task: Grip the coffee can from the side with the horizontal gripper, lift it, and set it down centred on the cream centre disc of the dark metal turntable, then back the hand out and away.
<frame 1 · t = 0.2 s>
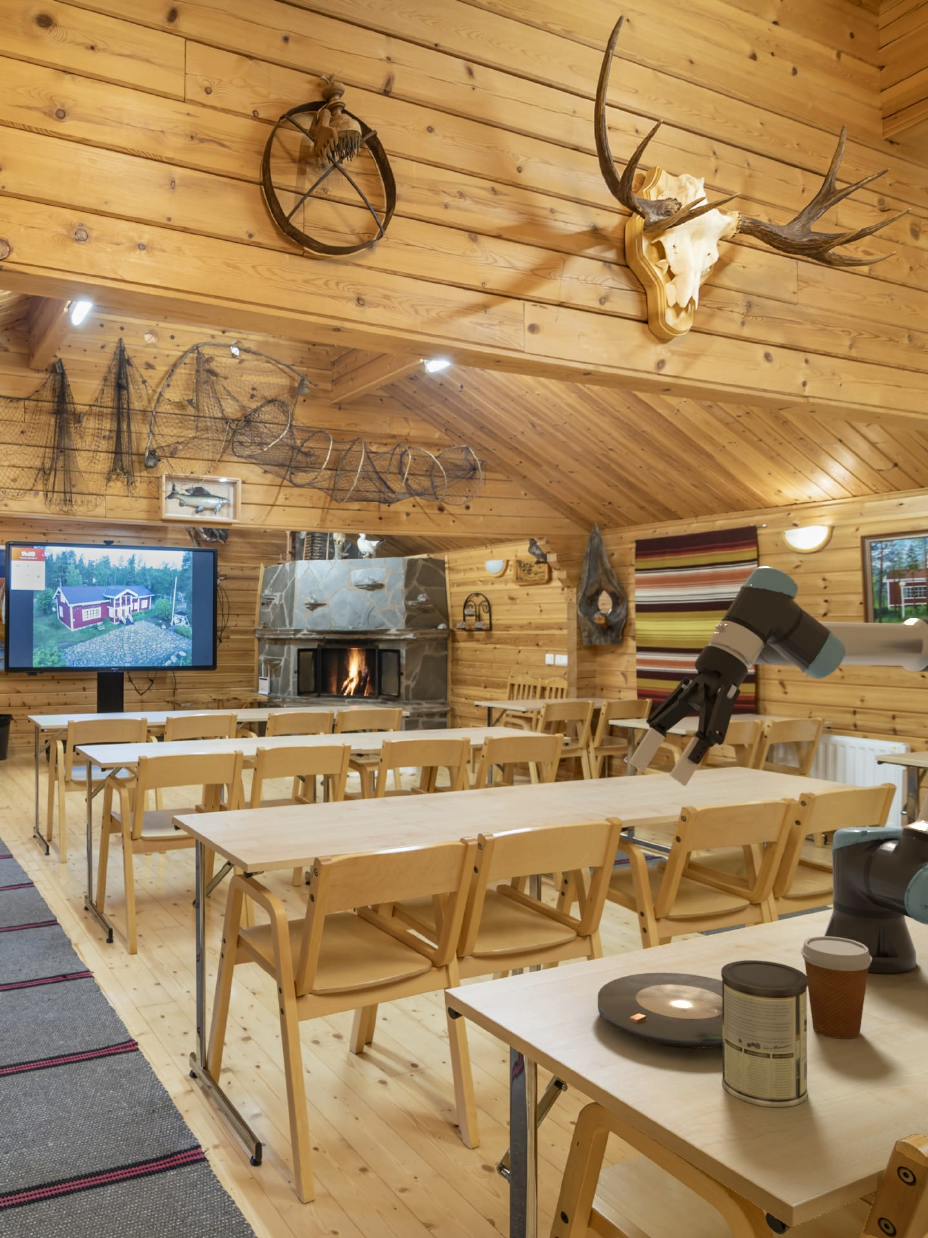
hand: (655, 773, 141), 36 cm above the table, tool tilted 35°, fingers open, 13 cm apart
disposable coffee cup: (836, 1031, 134), on the table
turntable platter: (681, 1004, 136), point 3 cm above the table, hinge at 0.0°
coffee can: (764, 1089, 117), on the table
turntable base: (681, 1024, 136), on the table
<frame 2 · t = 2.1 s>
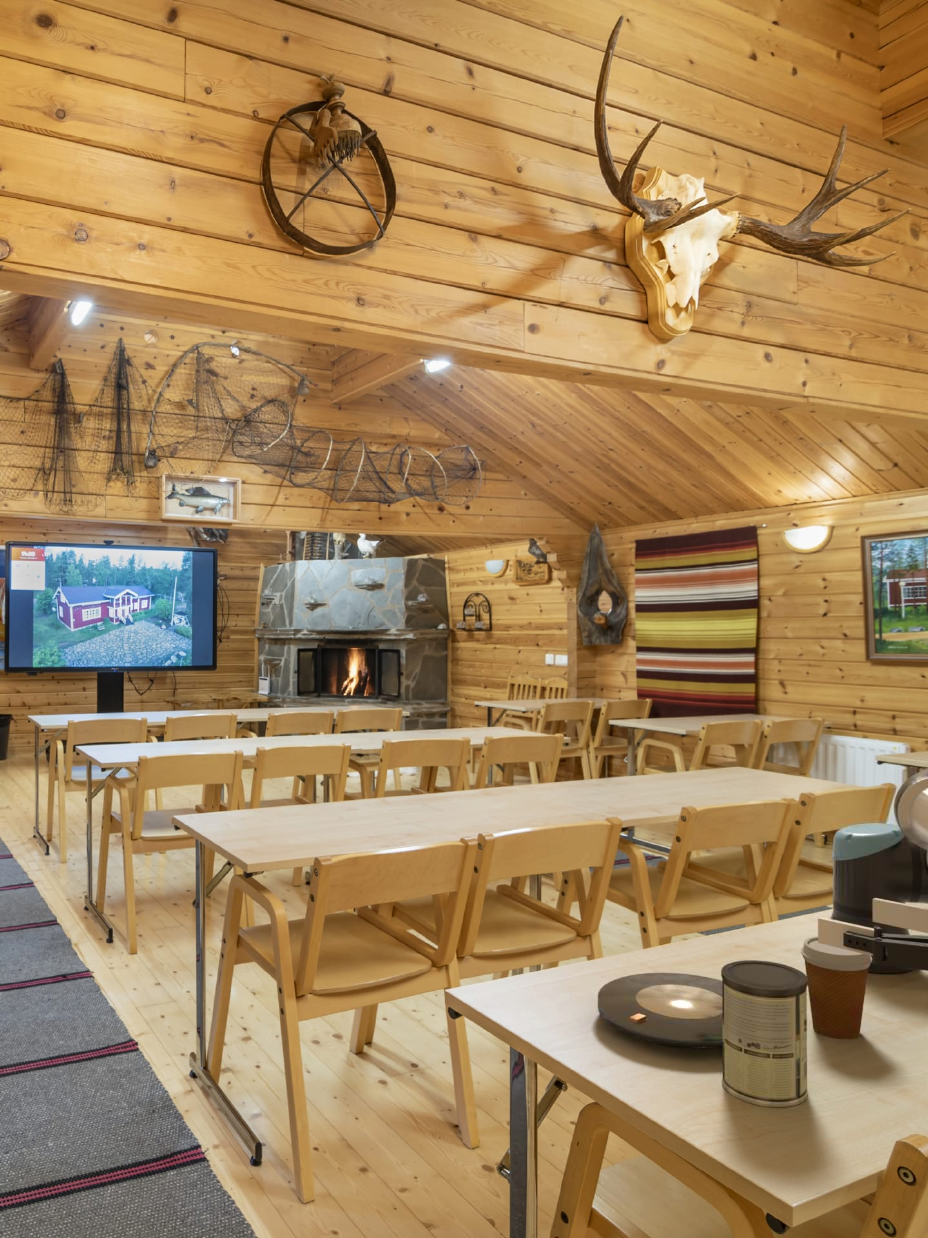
hand: (847, 919, 109), 23 cm above the table, tool horizontal, fingers open, 13 cm apart
nothing on the table moved.
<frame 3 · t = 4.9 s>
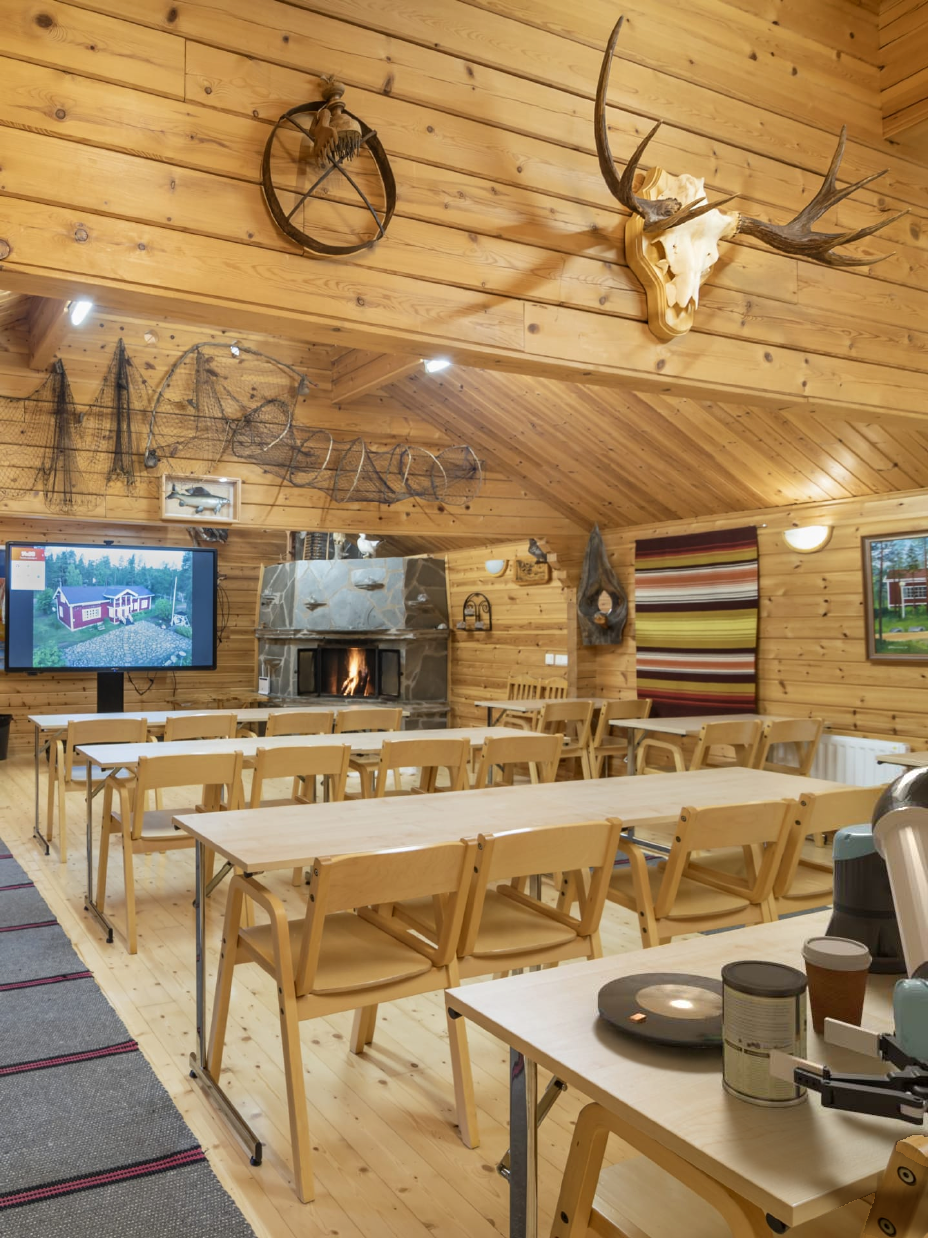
hand: (799, 1044, 112), 7 cm above the table, tool horizontal, fingers open, 13 cm apart
nothing on the table moved.
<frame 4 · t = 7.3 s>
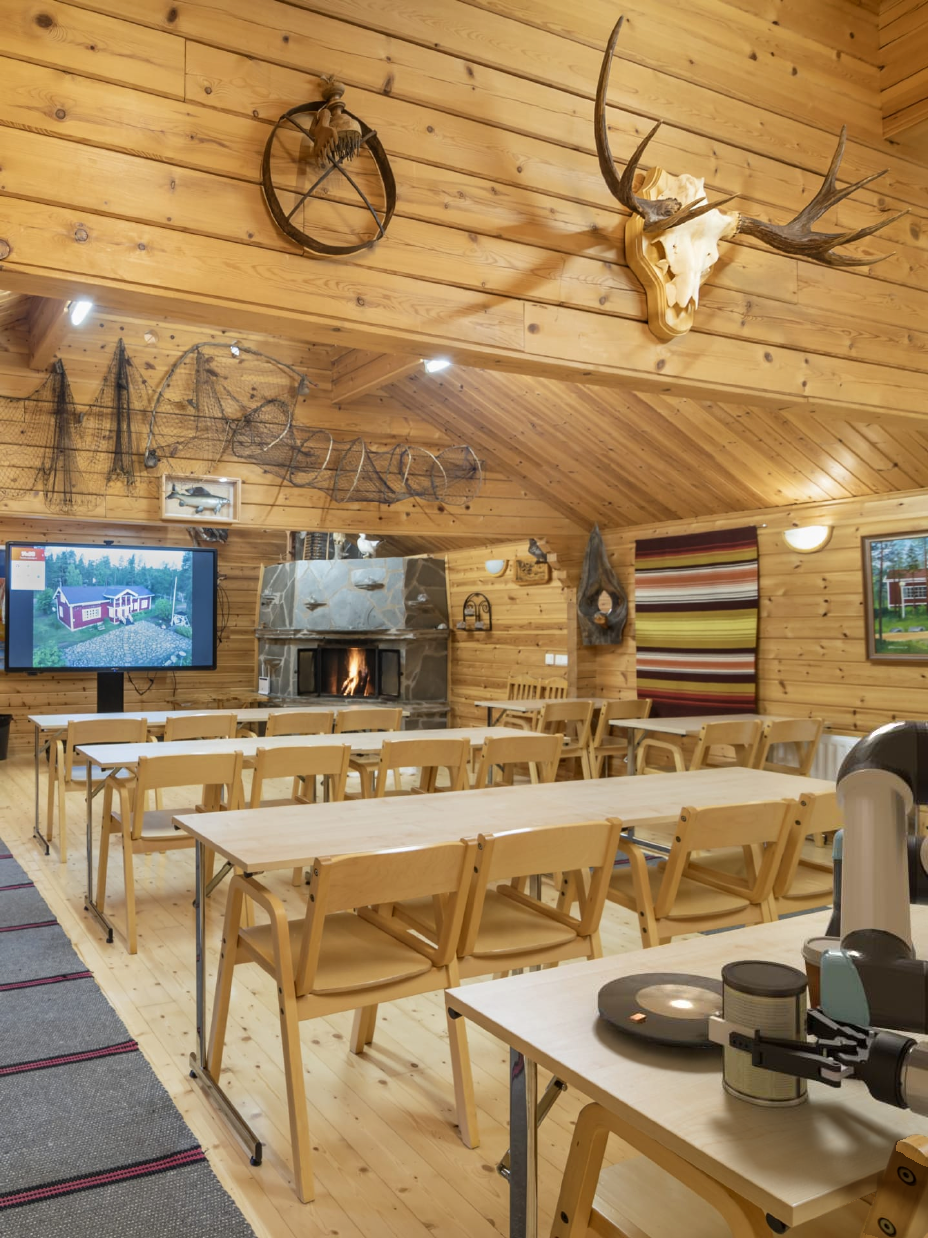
hand: (733, 1016, 120), 8 cm above the table, tool horizontal, fingers closed on coffee can, 10 cm apart
coffee can: (764, 1089, 117), on the table, touching gripper
everything else where it was.
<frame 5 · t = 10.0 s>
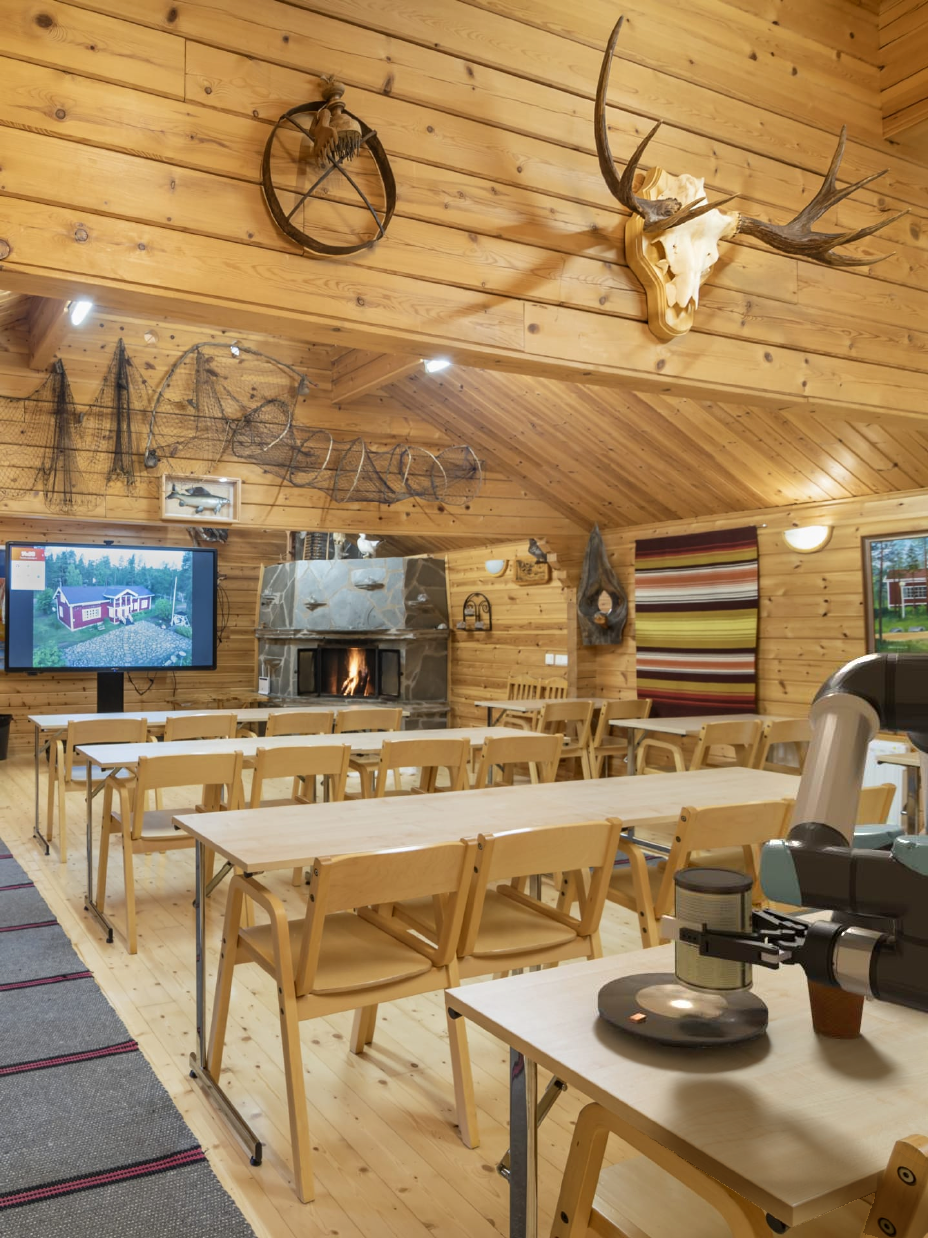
hand: (685, 918, 129), 18 cm above the table, tool horizontal, fingers closed on coffee can, 10 cm apart
coffee can: (713, 983, 125), point 10 cm above the table, touching gripper
everything else where it was.
when the fingers open (12 cm above the table, at t = 12.8 s): coffee can drops 1 cm, resting on turntable platter.
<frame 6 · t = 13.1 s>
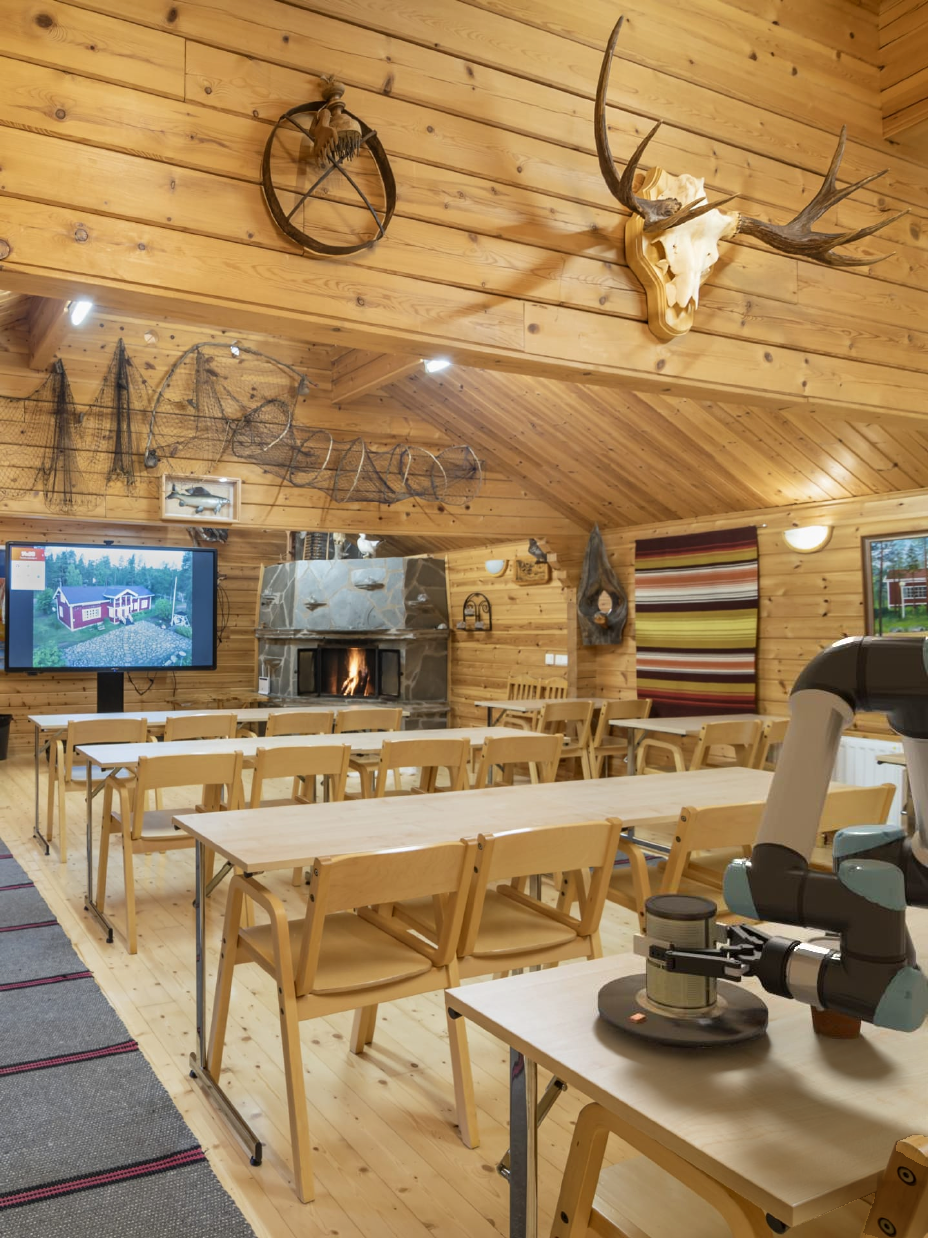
hand: (662, 933, 139), 12 cm above the table, tool horizontal, fingers open, 13 cm apart
turntable platter: (681, 1004, 136), point 3 cm above the table, hinge at 0.0°, touching coffee can
coffee can: (681, 1002, 136), point 3 cm above the table, touching turntable platter
everything else where it was.
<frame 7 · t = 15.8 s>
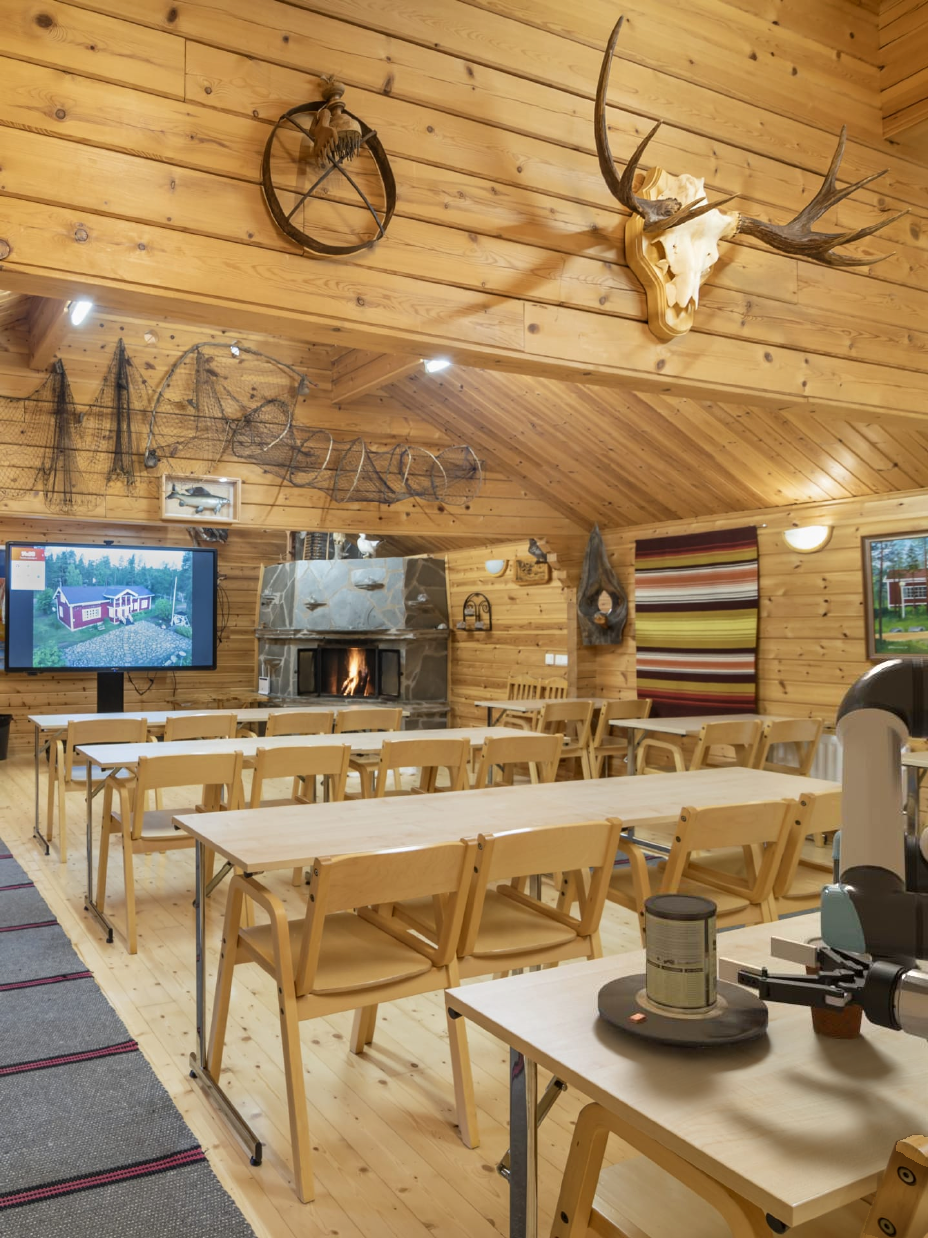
hand: (746, 956, 129), 12 cm above the table, tool horizontal, fingers open, 13 cm apart
nothing on the table moved.
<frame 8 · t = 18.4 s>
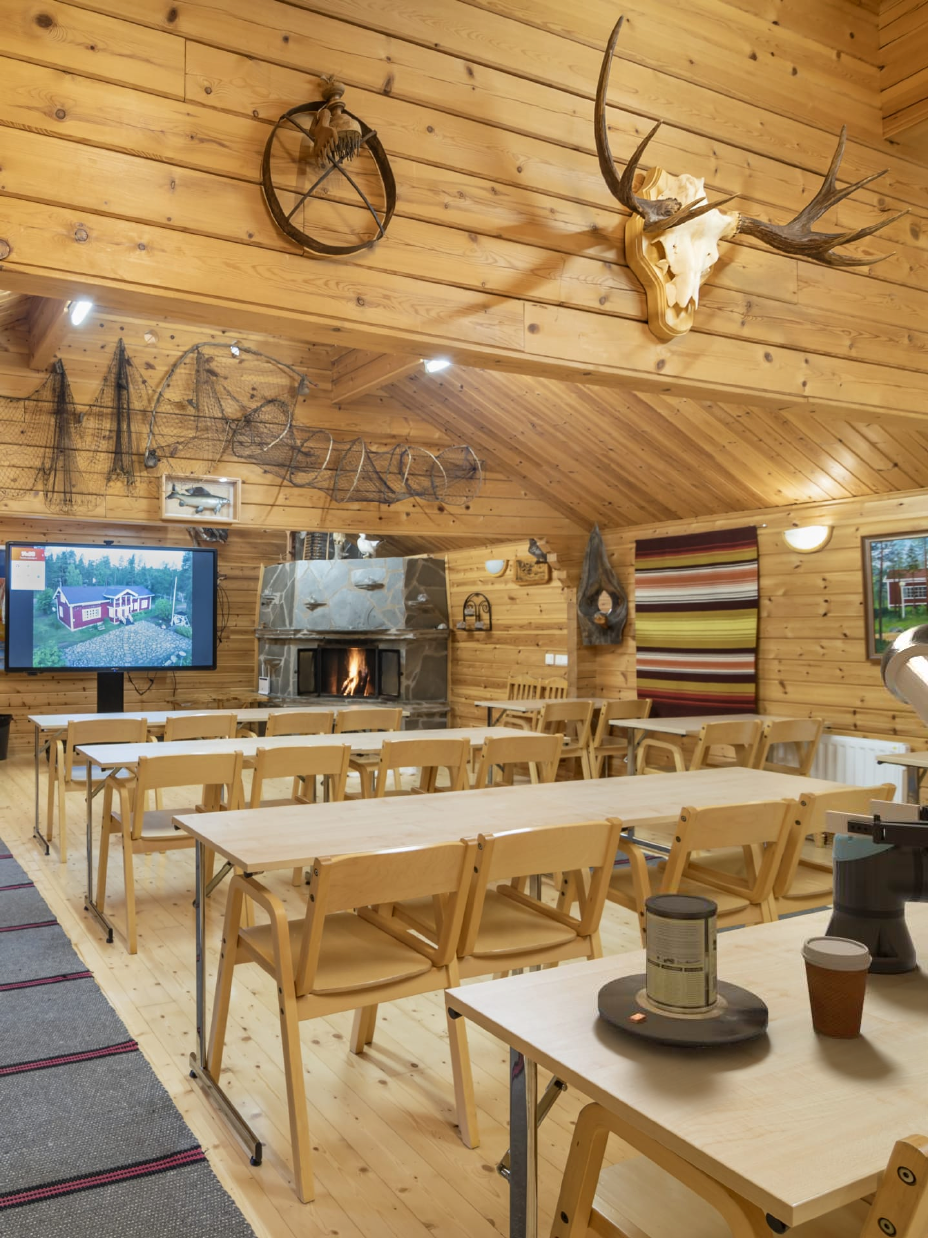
hand: (849, 814, 128), 32 cm above the table, tool horizontal, fingers open, 13 cm apart
nothing on the table moved.
at the end: coffee can inside the target area on the turntable platter (0.1 cm from its centre), point 3.3 cm above the turntable platter's base; coffee can tilted 1°; the gripper is holding nothing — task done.
